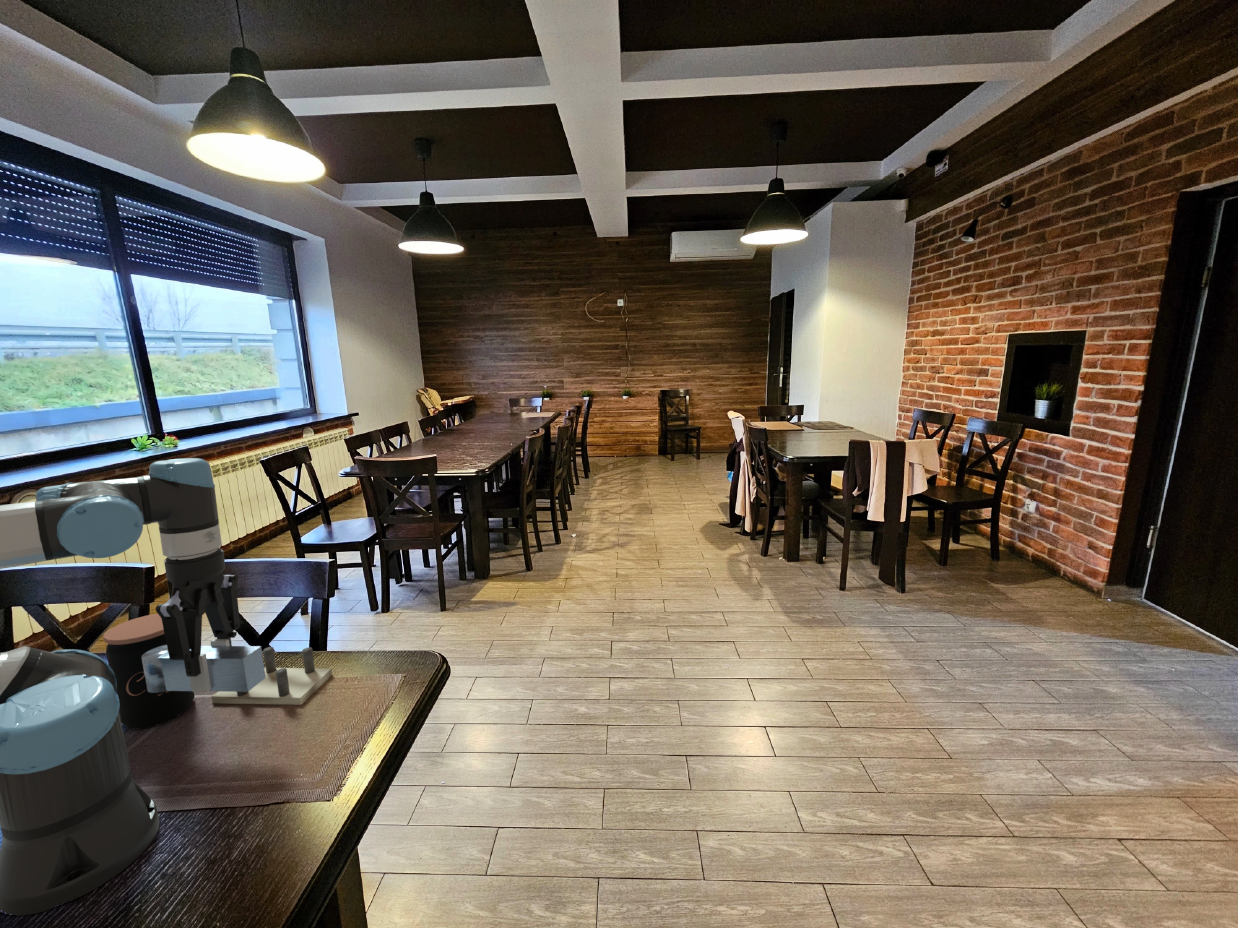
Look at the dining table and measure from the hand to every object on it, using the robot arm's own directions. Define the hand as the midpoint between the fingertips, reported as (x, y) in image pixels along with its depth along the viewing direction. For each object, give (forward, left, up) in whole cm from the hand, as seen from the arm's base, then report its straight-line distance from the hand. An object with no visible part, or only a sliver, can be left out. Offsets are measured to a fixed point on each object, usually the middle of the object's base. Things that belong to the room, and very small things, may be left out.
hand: (213, 681), depth 87 cm
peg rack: (+15, +2, -12) cm, 19 cm away
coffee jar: (+7, +19, -12) cm, 23 cm away
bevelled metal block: (0, +2, 0) cm, 2 cm away
